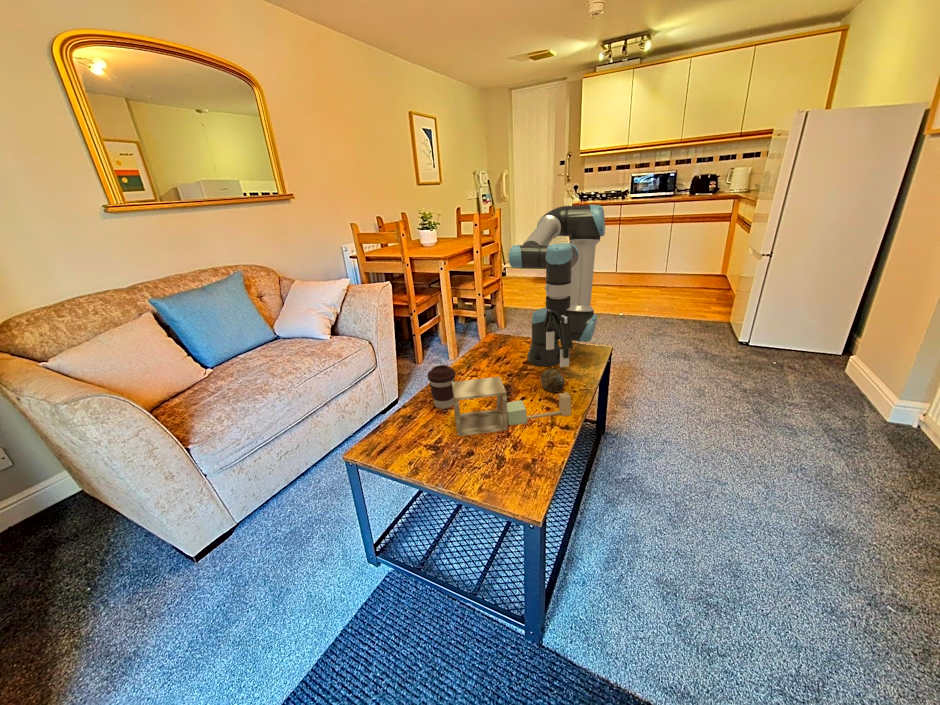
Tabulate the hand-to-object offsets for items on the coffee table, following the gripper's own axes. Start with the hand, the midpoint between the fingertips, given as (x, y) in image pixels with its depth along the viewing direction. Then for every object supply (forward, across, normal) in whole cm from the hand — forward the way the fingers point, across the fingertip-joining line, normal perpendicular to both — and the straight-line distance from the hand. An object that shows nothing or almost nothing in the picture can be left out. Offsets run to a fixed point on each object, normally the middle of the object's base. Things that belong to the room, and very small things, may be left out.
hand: (556, 357), depth 131 cm
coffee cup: (+19, -11, -39) cm, 45 cm away
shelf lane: (+19, +5, -28) cm, 34 cm away
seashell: (+20, -13, +4) cm, 24 cm away
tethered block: (+20, +6, -8) cm, 22 cm away
